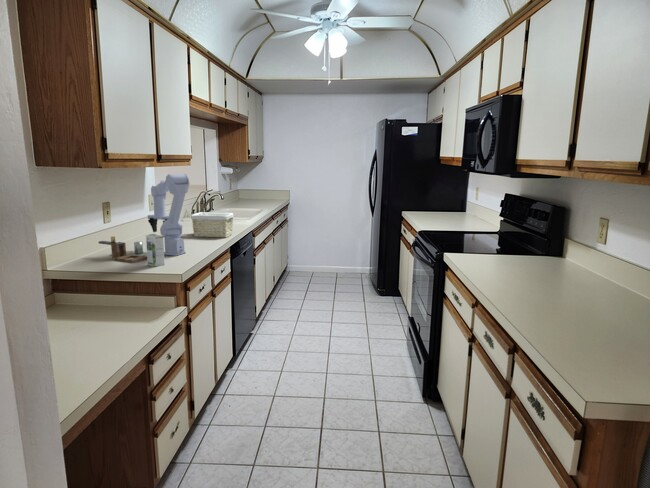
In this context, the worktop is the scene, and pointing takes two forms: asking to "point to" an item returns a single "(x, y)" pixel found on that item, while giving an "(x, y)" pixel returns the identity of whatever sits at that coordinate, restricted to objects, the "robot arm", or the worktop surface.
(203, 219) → the storage basket
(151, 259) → the syrup box
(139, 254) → the sage rubber pad
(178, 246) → the robot arm
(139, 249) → the steel peg
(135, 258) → the walnut socket block
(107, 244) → the dark grey long bar
